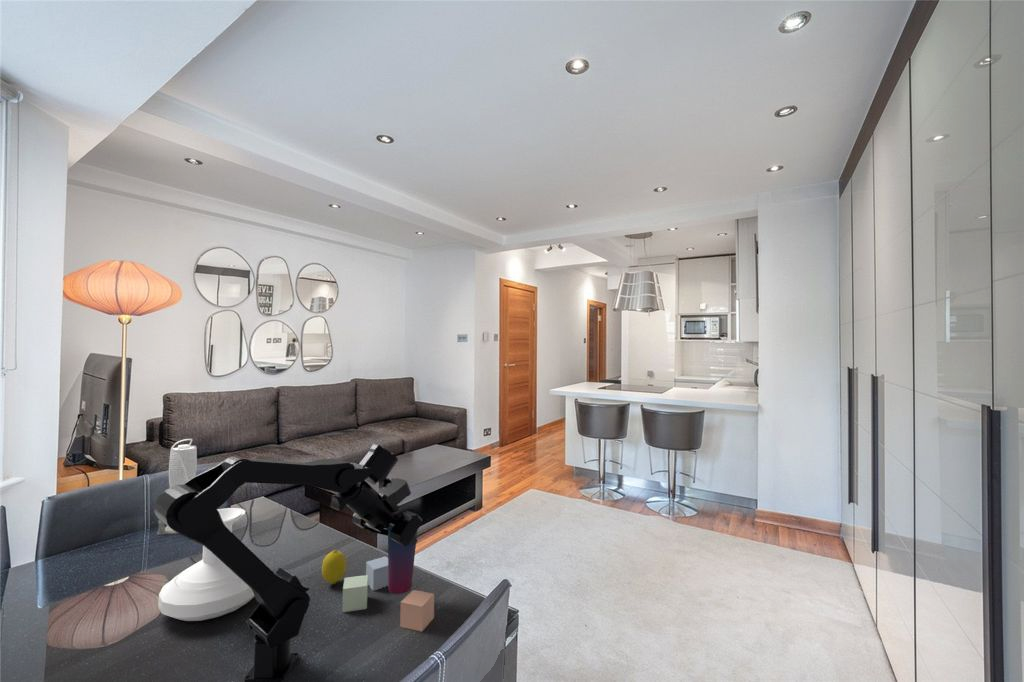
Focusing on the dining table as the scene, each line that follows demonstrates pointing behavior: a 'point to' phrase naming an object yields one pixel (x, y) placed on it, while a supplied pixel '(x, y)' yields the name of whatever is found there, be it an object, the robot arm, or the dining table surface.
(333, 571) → the lemon
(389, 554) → the cup
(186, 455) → the skyscraper
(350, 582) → the block sage
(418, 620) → the block terracotta
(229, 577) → the candle holder
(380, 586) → the block slate
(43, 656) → the dining table surface
